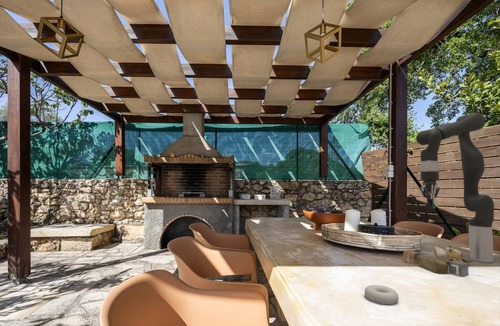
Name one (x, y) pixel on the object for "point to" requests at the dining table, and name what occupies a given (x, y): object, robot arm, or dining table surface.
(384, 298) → the donut
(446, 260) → the ceramic sculpture
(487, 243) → the robot arm
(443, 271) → the stone block
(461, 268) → the charcoal block
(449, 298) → the dining table surface
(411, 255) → the cardboard box
